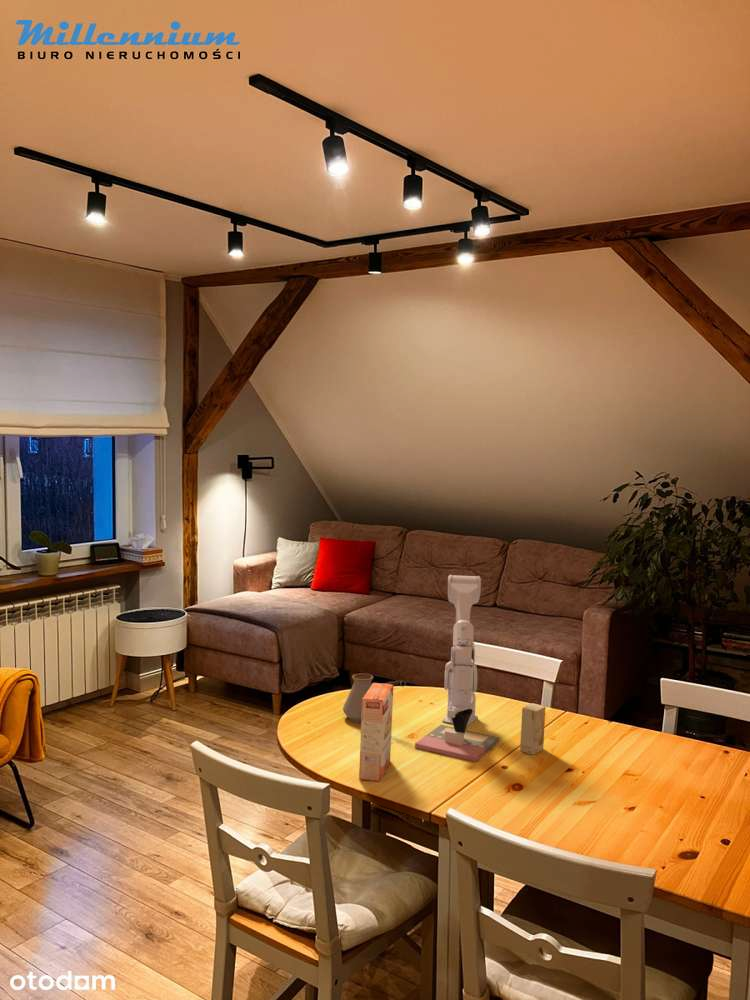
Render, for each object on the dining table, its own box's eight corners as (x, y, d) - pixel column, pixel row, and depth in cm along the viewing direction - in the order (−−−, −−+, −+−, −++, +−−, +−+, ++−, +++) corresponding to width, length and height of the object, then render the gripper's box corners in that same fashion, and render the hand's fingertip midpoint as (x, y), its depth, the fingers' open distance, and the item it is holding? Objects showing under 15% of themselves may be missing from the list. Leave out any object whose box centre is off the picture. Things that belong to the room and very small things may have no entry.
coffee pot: (334, 718, 247) (335, 669, 245) (359, 708, 255) (360, 661, 254) (390, 736, 233) (392, 685, 232) (414, 725, 242) (416, 676, 241)
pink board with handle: (425, 739, 231) (426, 724, 231) (485, 753, 223) (486, 738, 222) (414, 747, 225) (415, 732, 225) (475, 761, 217) (476, 746, 216)
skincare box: (533, 755, 222) (535, 711, 221) (519, 751, 225) (521, 708, 224) (544, 748, 227) (546, 705, 226) (530, 744, 230) (532, 702, 229)
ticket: (440, 728, 240) (440, 723, 240) (498, 741, 232) (499, 736, 232) (426, 739, 232) (426, 734, 232) (486, 753, 223) (486, 748, 223)
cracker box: (381, 783, 203) (384, 700, 201) (358, 780, 204) (360, 698, 202) (392, 760, 216) (394, 683, 214) (369, 758, 217) (371, 681, 216)
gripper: (465, 697, 220) (463, 746, 221) (484, 683, 233) (482, 729, 234) (441, 692, 224) (439, 741, 225) (461, 679, 236) (459, 725, 237)
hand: (459, 735), depth 230 cm, fingers closed
